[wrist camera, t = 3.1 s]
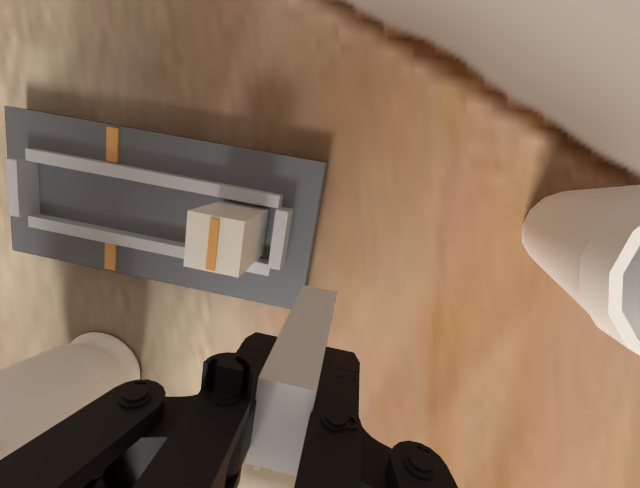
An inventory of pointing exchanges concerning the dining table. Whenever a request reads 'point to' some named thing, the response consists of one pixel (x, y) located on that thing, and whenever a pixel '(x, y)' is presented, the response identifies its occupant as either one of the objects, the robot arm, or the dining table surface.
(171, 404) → the robot arm
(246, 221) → the block
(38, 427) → the jar
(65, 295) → the dining table surface
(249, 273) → the slider track
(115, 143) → the marker
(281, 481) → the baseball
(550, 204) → the foam cup
